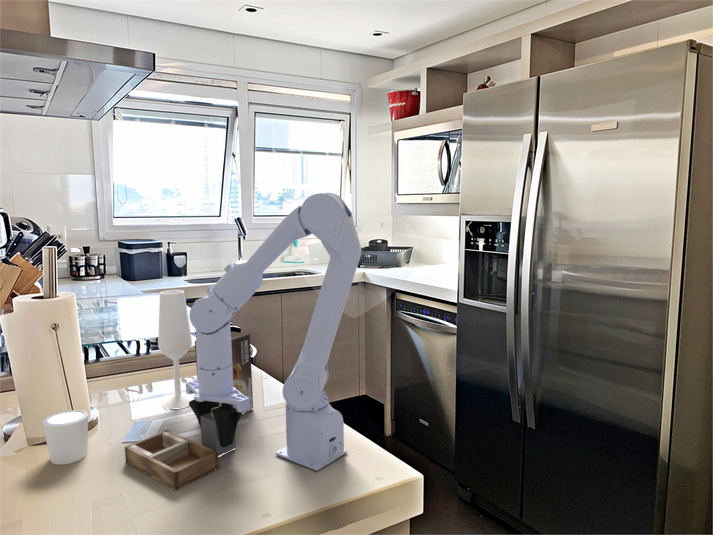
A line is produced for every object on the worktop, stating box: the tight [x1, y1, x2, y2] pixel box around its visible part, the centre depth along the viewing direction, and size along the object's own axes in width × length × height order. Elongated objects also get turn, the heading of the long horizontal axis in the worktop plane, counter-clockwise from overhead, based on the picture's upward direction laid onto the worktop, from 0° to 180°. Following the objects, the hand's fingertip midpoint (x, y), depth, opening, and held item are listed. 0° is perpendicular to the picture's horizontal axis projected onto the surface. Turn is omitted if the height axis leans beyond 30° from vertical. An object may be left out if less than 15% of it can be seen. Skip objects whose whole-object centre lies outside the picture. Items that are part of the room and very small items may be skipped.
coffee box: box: [194, 330, 254, 413], centre depth 109 cm, size 9×6×16 cm
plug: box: [200, 407, 237, 456], centre depth 94 cm, size 4×4×8 cm
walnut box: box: [124, 429, 220, 491], centre depth 90 cm, size 14×8×3 cm, turn 52°
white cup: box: [42, 409, 89, 465], centre depth 93 cm, size 7×7×7 cm
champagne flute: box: [157, 289, 194, 409], centre depth 114 cm, size 7×7×24 cm
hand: (218, 441), depth 95 cm, fingers closed on plug, 4 cm apart
